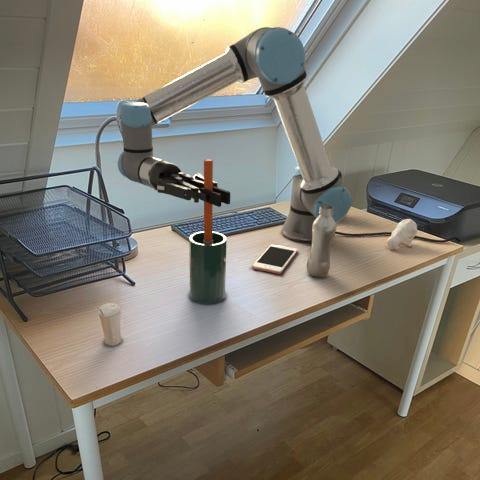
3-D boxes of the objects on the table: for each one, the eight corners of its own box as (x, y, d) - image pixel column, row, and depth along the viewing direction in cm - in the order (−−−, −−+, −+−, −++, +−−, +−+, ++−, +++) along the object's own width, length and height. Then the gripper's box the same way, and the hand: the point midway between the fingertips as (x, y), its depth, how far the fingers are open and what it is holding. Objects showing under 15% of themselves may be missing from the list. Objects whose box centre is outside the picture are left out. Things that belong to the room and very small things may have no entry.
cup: (218, 285, 129) (220, 229, 120) (229, 301, 122) (231, 243, 113) (186, 289, 126) (185, 232, 118) (195, 306, 119) (194, 247, 111)
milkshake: (96, 346, 103) (90, 306, 97) (110, 334, 107) (105, 295, 102) (114, 351, 101) (109, 311, 96) (127, 338, 106) (123, 299, 100)
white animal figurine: (421, 220, 154) (400, 231, 148) (416, 244, 159) (396, 256, 153) (404, 214, 158) (383, 225, 152) (399, 238, 163) (379, 249, 157)
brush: (214, 267, 123) (215, 156, 108) (220, 276, 119) (222, 162, 104) (196, 270, 122) (194, 157, 107) (201, 278, 118) (200, 163, 103)
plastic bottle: (314, 267, 141) (324, 201, 131) (333, 275, 137) (344, 208, 127) (300, 273, 137) (309, 206, 127) (319, 281, 133) (329, 213, 123)
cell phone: (251, 268, 139) (251, 265, 138) (271, 246, 153) (271, 243, 152) (280, 274, 136) (280, 271, 135) (297, 251, 150) (297, 248, 150)
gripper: (185, 185, 127) (247, 208, 113) (137, 196, 118) (198, 223, 104) (184, 156, 123) (249, 177, 109) (135, 165, 114) (198, 188, 100)
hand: (224, 199), depth 106 cm, fingers closed on brush, 2 cm apart
